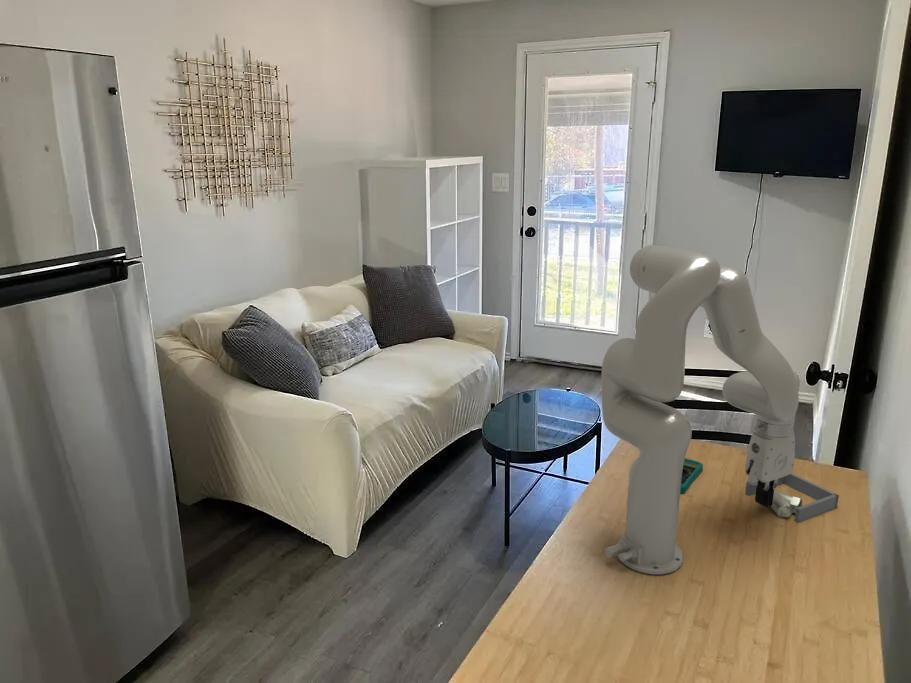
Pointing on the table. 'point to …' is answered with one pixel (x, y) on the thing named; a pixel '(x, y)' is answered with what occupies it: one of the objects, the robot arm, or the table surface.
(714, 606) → the table surface
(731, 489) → the table surface
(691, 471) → the digital multimeter
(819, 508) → the gray u-shaped frame
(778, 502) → the pipe fitting
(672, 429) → the robot arm
